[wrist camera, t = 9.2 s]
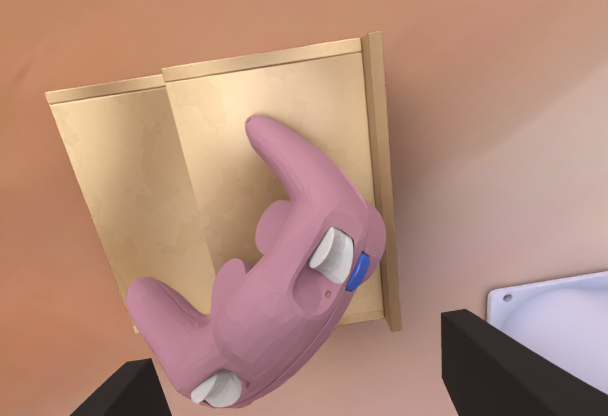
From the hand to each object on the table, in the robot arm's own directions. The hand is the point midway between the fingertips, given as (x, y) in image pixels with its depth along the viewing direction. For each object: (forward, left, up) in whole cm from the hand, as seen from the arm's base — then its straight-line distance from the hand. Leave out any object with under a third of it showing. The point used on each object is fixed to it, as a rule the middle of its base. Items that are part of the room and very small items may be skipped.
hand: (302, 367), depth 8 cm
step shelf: (+3, -2, -10) cm, 11 cm away
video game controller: (+2, -1, -7) cm, 7 cm away
